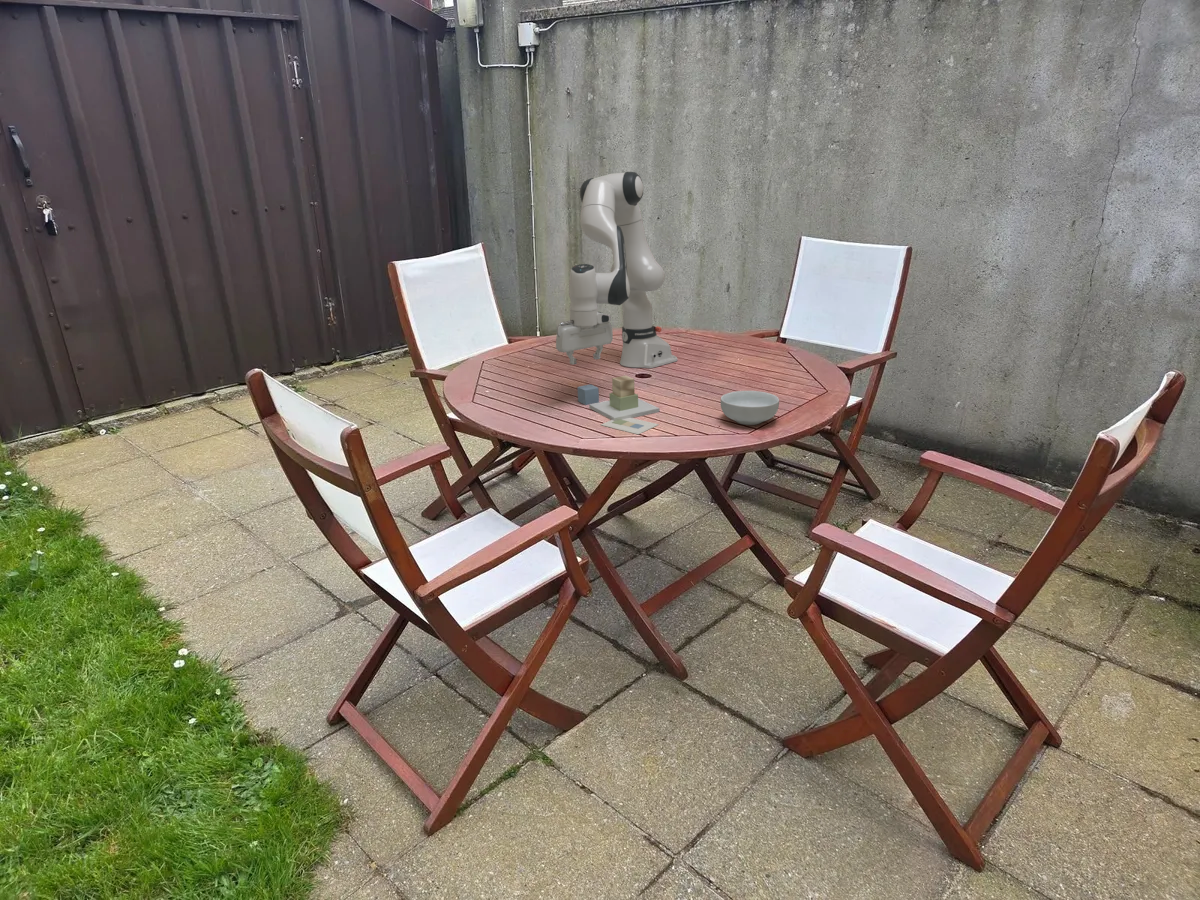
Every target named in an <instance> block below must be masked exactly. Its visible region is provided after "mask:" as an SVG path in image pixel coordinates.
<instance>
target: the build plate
mask: <svg viewBox="0 0 1200 900" xmlns="http://www.w3.org/2000/svg"><path fill="white" fill-rule="evenodd" d="M608 398H609V400H604V401H599V402H598V403H594V404H589V405H588V407H589V409H590V410H593V411H594V412H596V413H598V414H599V415H601V416H603V417H605V418H607V419H608V420H614V421H617V420H623V419H627V418H634V419H635V418H639V417H643V416H647V415H652V414H656V413H660V407H659V406H655V405H653V404H651V403H649V402H648V401H645V400H643V399H640V398H639V395H638V393H635V395H630V396H626V397H619V396H617V395H614V394H613V393H612V392H611V393H609V397H608Z"/></svg>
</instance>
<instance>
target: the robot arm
mask: <svg viewBox="0 0 1200 900" xmlns="http://www.w3.org/2000/svg"><path fill="white" fill-rule="evenodd" d="M579 189H580V190H579V197H580V201H581V207H580V209H581V210H580V218H579V220H580V221H579V225H580V227H581V231H582V232H583V234H584V235H585V236H587V238H589V239H590V240H592V241H594V242H596V243H599V244H601V245H604V246H606V247H608V248H610V250H612V262H613V264H611V268H610V272H596V268H595V266H594V265H592V264H589V263H580V264H577V265H574V266H572V267H571V268H570V272H569V279H568V280H569V281H568V283H569V284H568V295H569V299H570V306H569V320H568V321H561V322H560V323H558V325H557V326H556V338H555V349H556V351H558V352H559V353H566V356H567V357H568V359H569V365H577V364H578V363H577V358H576V357H574V354H575V351H578V350H579V351H580V350H583V349H584V350H585V349H589V348H593V347H594V348H596V350H595V352H594V353H593V356H592V357H593V359H594V360H600V359H601V353H602V351H603V349H604V345H609V344H612V341H613V339H614V338H613V336H614V335H613V325H612V323H611V321H612V316H611V315H610V314H608V313H603V312H602V311H601V312H600V311H599V307H598V305H599V304H605V305H606V304H607V305H613V306H621V307H622V327H621V338H622V349H621V350H622V352H621V356H620V361H619V364H620V365H621V366H623V367H627V368H643V369H644V368H645V369H646V368H647V369H652V368H653V369H654V368H656V367H661V366H663V365H668V364H672V363H675V362H678V360H679V359H678V357H677V356H676V355H674V354H672V349H671V345H670V344H669V343H668V342H667V341H665V340H664V339H663V338H662V337H660V336H659V335H657V334H658V333H661V332H662V330H663V328H662V327H660V326H658V325H657V326H654V325H653V305H652V303H651V301H650V300H649V298H648V296H647V293H646V292H654V291H657V290H659V289H660V288H661V287H662V286H663V285H664V281H665V277H666V275H665V271H664V268H663V267H662V266H661V265H660V264H659V263H658V262H657V260H656V258H655V256H654V255H653V252H652V250H651V248H650V246H649V243H648V240H647V236H646V231H645V227H644V222H643V216H642V212H641V208H640V204H639V202H641V200H642V198H643V195H644V184H643V180H642V177H641V176H640V175H639V174H638V173H637V172H635V171H625V172H613V173H608V174H605V175H601V176H598V177H595V178H594V177H591V178H588V179H586V180H584V181H583V182H582V184H581V186H580V188H579Z"/></svg>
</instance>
